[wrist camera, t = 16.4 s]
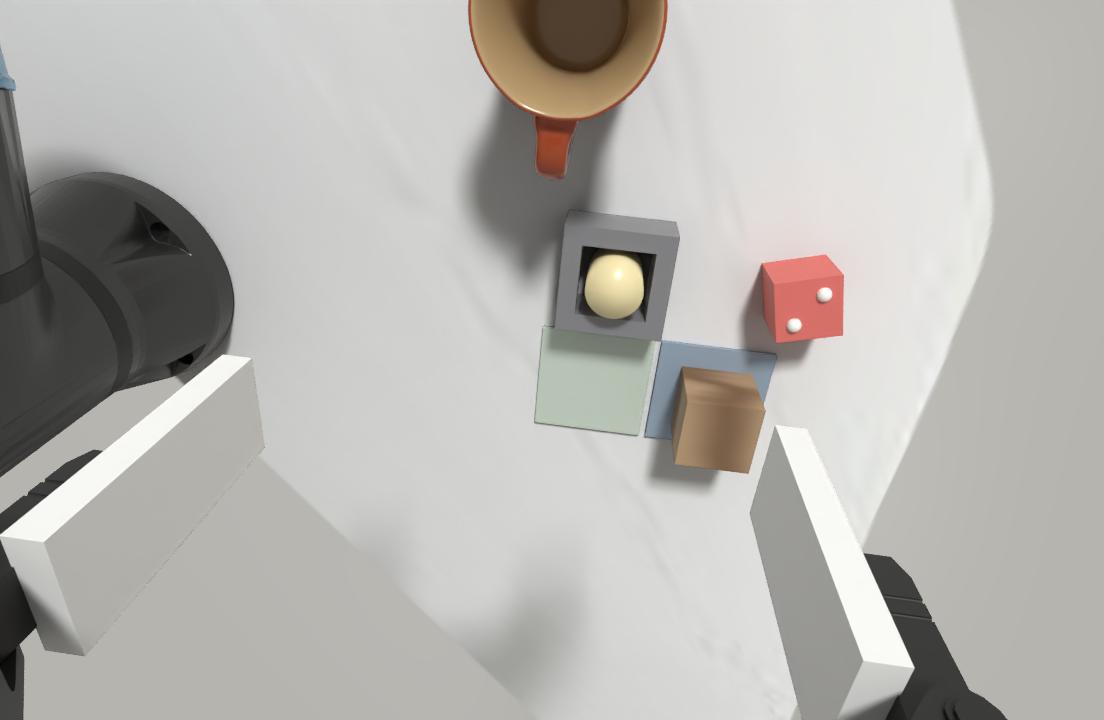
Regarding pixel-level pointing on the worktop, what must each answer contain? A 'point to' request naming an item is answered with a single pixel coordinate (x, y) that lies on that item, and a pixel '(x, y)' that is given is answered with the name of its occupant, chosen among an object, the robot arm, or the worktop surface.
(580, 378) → the tile
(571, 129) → the mug
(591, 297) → the button
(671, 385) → the tile
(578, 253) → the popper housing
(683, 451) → the tan wooden cuboid
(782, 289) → the die
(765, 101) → the worktop surface
